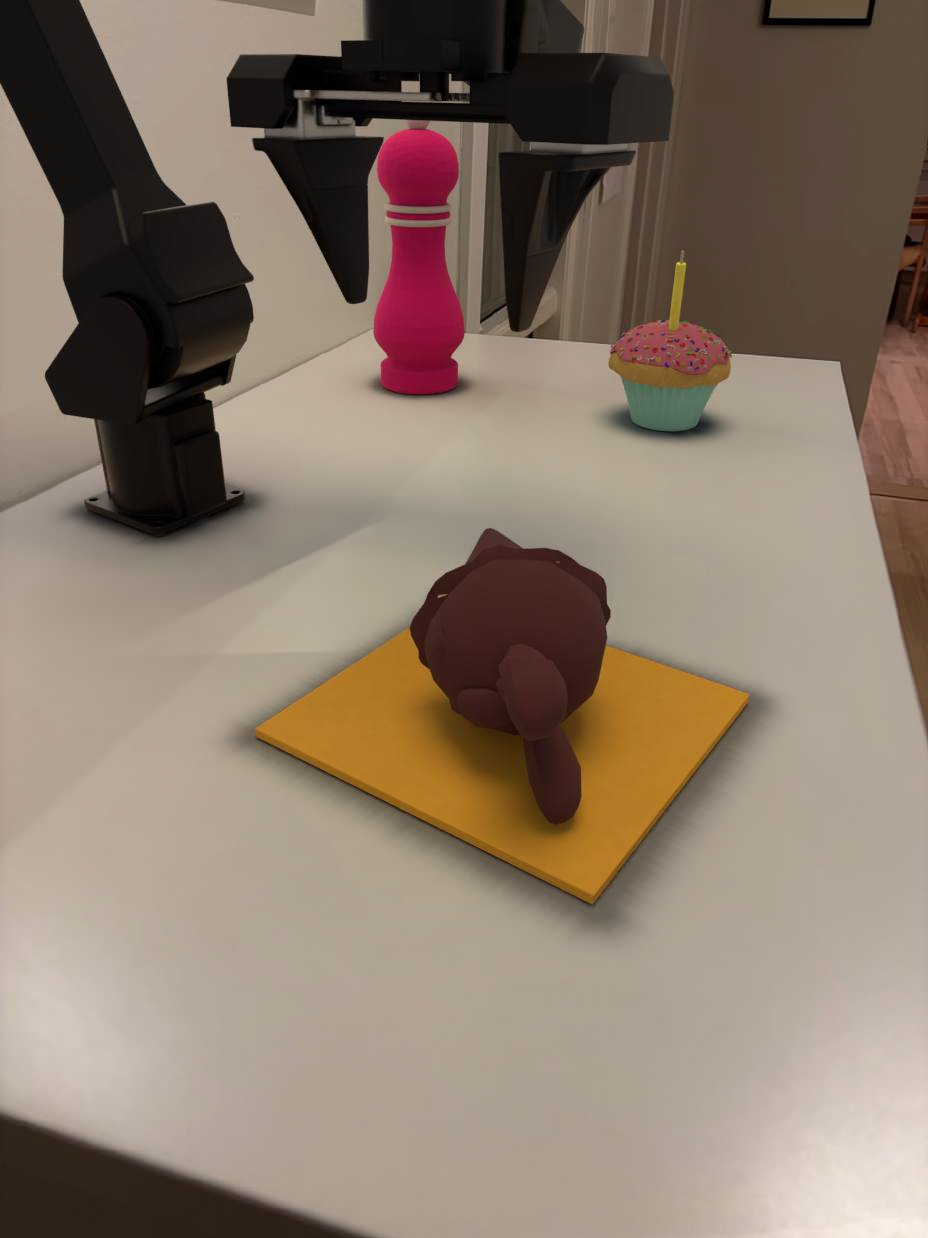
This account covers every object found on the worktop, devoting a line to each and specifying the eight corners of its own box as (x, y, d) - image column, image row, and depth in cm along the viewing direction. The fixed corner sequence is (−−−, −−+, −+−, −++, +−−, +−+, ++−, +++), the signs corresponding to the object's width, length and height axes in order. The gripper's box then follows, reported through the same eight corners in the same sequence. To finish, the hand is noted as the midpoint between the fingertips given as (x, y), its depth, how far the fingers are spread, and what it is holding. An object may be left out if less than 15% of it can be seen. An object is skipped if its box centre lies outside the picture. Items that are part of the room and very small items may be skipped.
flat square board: (255, 737, 34) (254, 728, 34) (458, 601, 44) (458, 594, 44) (592, 905, 28) (593, 895, 27) (748, 702, 37) (750, 694, 37)
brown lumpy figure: (383, 482, 38) (397, 720, 26) (559, 436, 38) (656, 657, 26) (425, 615, 42) (455, 877, 30) (585, 576, 42) (680, 824, 30)
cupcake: (723, 444, 64) (753, 258, 58) (599, 434, 65) (615, 252, 59) (719, 408, 71) (745, 240, 65) (607, 400, 73) (622, 235, 67)
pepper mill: (362, 392, 74) (351, 102, 64) (390, 369, 80) (384, 101, 70) (451, 400, 72) (454, 104, 62) (472, 376, 78) (478, 103, 69)
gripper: (756, -107, 36) (698, 314, 43) (379, -72, 45) (387, 270, 53) (624, -167, 28) (582, 362, 35) (198, -110, 37) (239, 299, 45)
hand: (434, 315), depth 42 cm, fingers open, 9 cm apart
